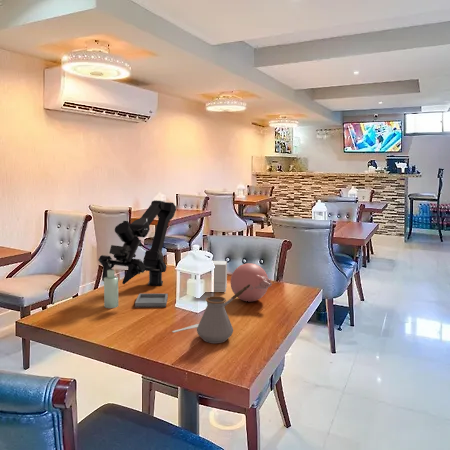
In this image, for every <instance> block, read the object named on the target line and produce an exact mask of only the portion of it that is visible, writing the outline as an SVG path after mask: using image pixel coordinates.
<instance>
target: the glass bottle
mask: <svg viewBox="0 0 450 450" xmlns="http://www.w3.org/2000/svg"><path fill="white" fill-rule="evenodd" d="M112 269H113V268H112ZM112 269H111V270H107V277H105V278H104V281H103V297H104V298H103V299H104V300H103V301H104V302H103V307H104V308H106V309H115V308H118V307H119V277H118V276H116V275H115V269H113V270H112Z"/></svg>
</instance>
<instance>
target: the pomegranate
mask: <svg viewBox="0 0 450 450" xmlns="http://www.w3.org/2000/svg"><path fill="white" fill-rule="evenodd" d="M271 281H272V280H271V279H270V278H269V277H268V274H267V273H266V271H265V269H264V268H262V267H261V266H260V265H258V264H255V263H251V262H247V263H243V264H241V265H239V266H238V267H236V268H235V269H234V271H233V272H232V274H231V276H230V288H231V291H232V292H233V294H234V295H235V294H236V293H237V292H238V291H240V290H242V289H243V288H244V287H246V286H247V285H249V284H250V285H251V286H252V287H253V289H252V287H251V286H250V287H249V288H250V289H252V290H250V289H249V288H247V290H245V291H244V292H243V293H242V294H241V295H239V296H238V297H237V298H238V299H240V300H241V301H244V302H247V301H248V302H249V303H250V302H251V303H252V302H256V301H258V300H260V299H261V298H263V297H264V296H265V295H266V293H267V291H268V289H269V288H270V287H272V285H273V283H272V282H271Z"/></svg>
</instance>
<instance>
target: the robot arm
mask: <svg viewBox="0 0 450 450" xmlns="http://www.w3.org/2000/svg"><path fill="white" fill-rule="evenodd" d="M176 211H177V206H176V205H175V203H174V202H170V201H169V202H167V201H164V200H163V201H162V200H155V199H154V200H152V201H151V204H150V205H149V207H148V208H147V209H146V211H145V212H143V214H142V215H141V216H140V217H139V218H138V219H135V220H133V221H132V222H131V223H130V222H129V221H128V220H123V221H122V222H121V223H119V224H117V225H116V226H115V227H114V233H115V234H116V235H117V237H118V238H119V240H120V241H121V242H123V244H122V246H120V245H113V244H111V245H110V247H109V248H110V249H109V252H108V253H109V254H112V255H113V258H114V259H113V258H112V257H111V256H110V255H104V254H102V255H100V256H99V257H98V261H99V264H101V266H102V277H101V281H102V282H104V278H105V277H107V270H111V269H112V270H114V267H115V266H121V267H126V268H127V271H126V273H125V275H124V277H123V278H122V282H121V284H122V285H125V284H126V283H128V282H129V281H130V280H131V279H133V278H135V277H136V276H138V275H140V274H141V273H143V274H144V273H145V272H148V282H147V286H148V287H149V286H161V287H163V283H164V280H162V279H163V278H162V277H163V273H166V271H167V264H166V263H165V261H164V255H163V252H162V251H163V248H164V247H163V246H164V242H165V238H166V236H167V235H166V234H167V231H168V227H169V223H170V221H171V220H172V219H173V218H174V216H175V213H176ZM156 218H157V223H156V226H155V231H154V235H153V239H152V244H151V247H150V249H149V250H146V251H145V252H144V257H143V260H141V259H140V258H139V259H138V258H136V256H137V255H136V253H137V250H138V248H139V247H143V243H142V240H141V239H140V238H146V237H147V236H148V234H149V232H150V231H151V230H150V226H151V224H152V222H153V221H154V220H155V219H156Z"/></svg>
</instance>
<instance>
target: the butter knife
mask: <svg viewBox="0 0 450 450" xmlns="http://www.w3.org/2000/svg"><path fill="white" fill-rule="evenodd" d="M198 325H199V323H195V324H192V325H188V326H186V327H183V328H178V329H175V330H172V331H171V332H172V333H178V332H182V331H185V330H190V329H191V330H192V329H197V327H198Z"/></svg>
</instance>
